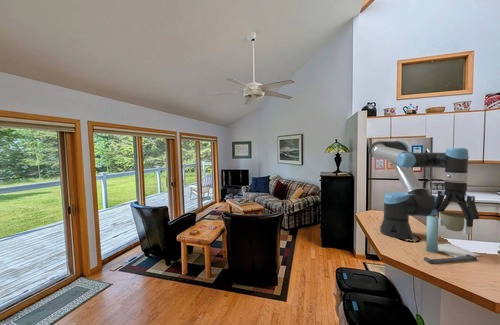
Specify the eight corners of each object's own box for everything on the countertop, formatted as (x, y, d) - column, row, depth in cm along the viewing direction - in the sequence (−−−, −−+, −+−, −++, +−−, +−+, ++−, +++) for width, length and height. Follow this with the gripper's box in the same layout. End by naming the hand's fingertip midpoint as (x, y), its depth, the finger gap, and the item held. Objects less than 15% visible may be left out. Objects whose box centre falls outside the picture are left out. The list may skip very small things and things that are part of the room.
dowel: (424, 249, 99) (424, 216, 99) (431, 249, 100) (431, 215, 99) (432, 253, 95) (433, 218, 95) (440, 252, 96) (440, 218, 95)
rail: (423, 260, 89) (423, 257, 89) (468, 256, 92) (468, 254, 92) (430, 263, 86) (430, 261, 86) (476, 260, 89) (476, 257, 89)
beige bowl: (433, 225, 102) (434, 211, 102) (454, 226, 102) (455, 211, 102) (452, 233, 92) (453, 217, 92) (476, 233, 92) (476, 217, 92)
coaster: (429, 246, 103) (429, 244, 103) (450, 244, 104) (450, 243, 104) (456, 258, 91) (456, 256, 91) (479, 256, 92) (479, 255, 92)
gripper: (424, 178, 107) (423, 221, 108) (478, 185, 85) (475, 239, 85) (437, 178, 108) (436, 221, 109) (493, 185, 86) (491, 238, 86)
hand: (453, 229), depth 97 cm, fingers closed on beige bowl, 10 cm apart
